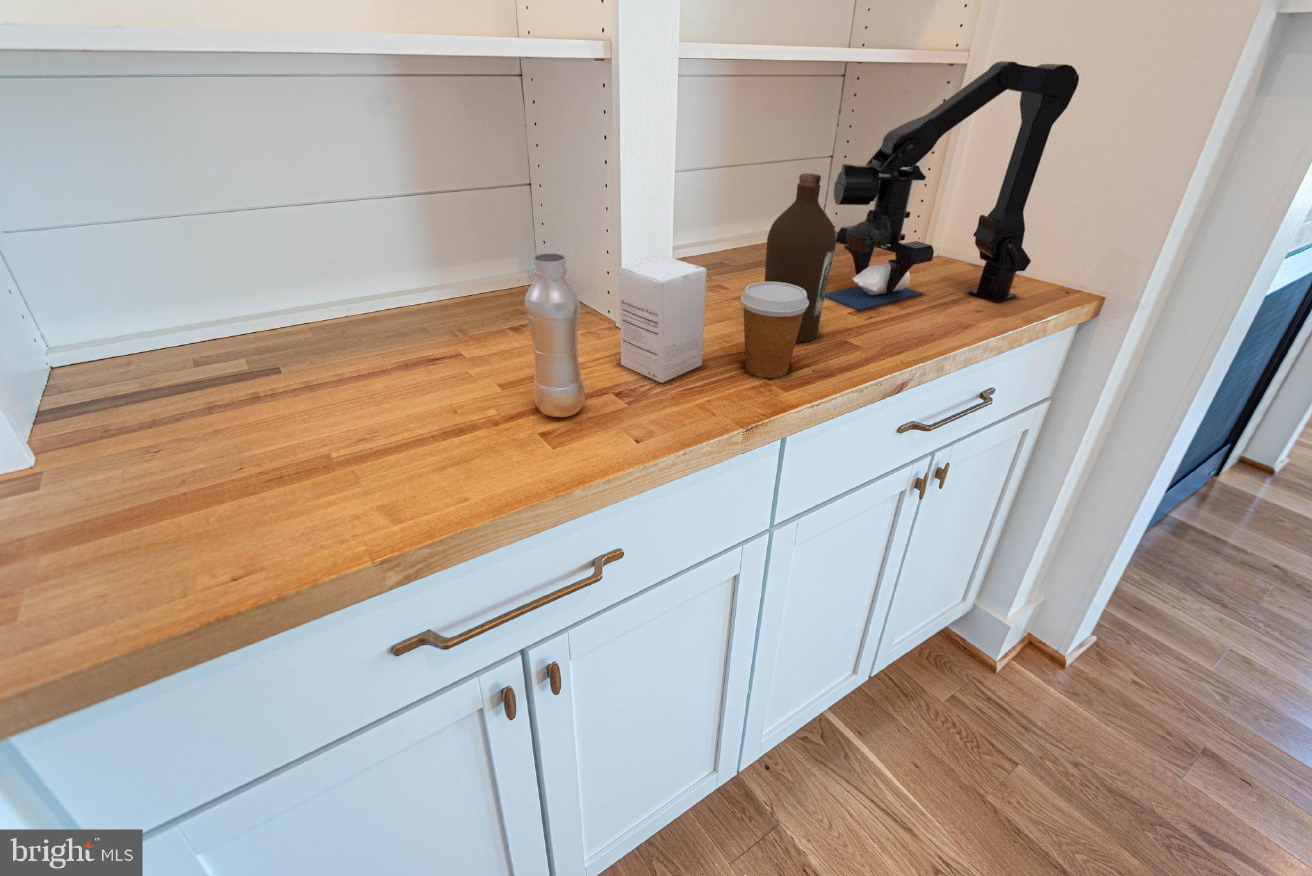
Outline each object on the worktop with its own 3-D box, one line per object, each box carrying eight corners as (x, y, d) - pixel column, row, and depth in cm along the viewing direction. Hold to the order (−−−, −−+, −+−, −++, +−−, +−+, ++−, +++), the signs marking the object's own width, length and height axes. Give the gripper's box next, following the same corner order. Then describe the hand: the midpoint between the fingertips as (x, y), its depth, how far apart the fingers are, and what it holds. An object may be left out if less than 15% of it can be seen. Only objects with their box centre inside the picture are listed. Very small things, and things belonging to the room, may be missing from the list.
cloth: (883, 281, 133) (883, 280, 133) (921, 294, 126) (922, 293, 126) (822, 295, 124) (822, 294, 124) (859, 310, 118) (859, 308, 117)
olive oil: (754, 340, 104) (771, 178, 91) (760, 318, 113) (777, 167, 100) (820, 347, 102) (847, 183, 89) (821, 324, 111) (846, 171, 98)
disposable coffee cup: (779, 389, 89) (790, 307, 83) (722, 370, 94) (728, 292, 88) (809, 367, 96) (821, 289, 90) (754, 350, 101) (762, 276, 94)
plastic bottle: (564, 428, 79) (554, 269, 68) (523, 413, 82) (507, 259, 72) (595, 407, 84) (590, 256, 73) (556, 394, 87) (545, 246, 76)
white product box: (661, 348, 101) (663, 253, 93) (703, 366, 95) (709, 267, 88) (618, 364, 95) (617, 265, 87) (660, 384, 90) (663, 280, 82)
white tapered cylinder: (839, 293, 125) (844, 264, 122) (884, 285, 130) (890, 257, 127) (861, 302, 120) (866, 273, 117) (907, 294, 125) (913, 265, 122)
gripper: (822, 200, 119) (810, 281, 127) (903, 220, 106) (884, 309, 114) (863, 194, 124) (848, 273, 133) (945, 213, 111) (924, 299, 119)
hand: (874, 288), depth 124 cm, fingers open, 7 cm apart
